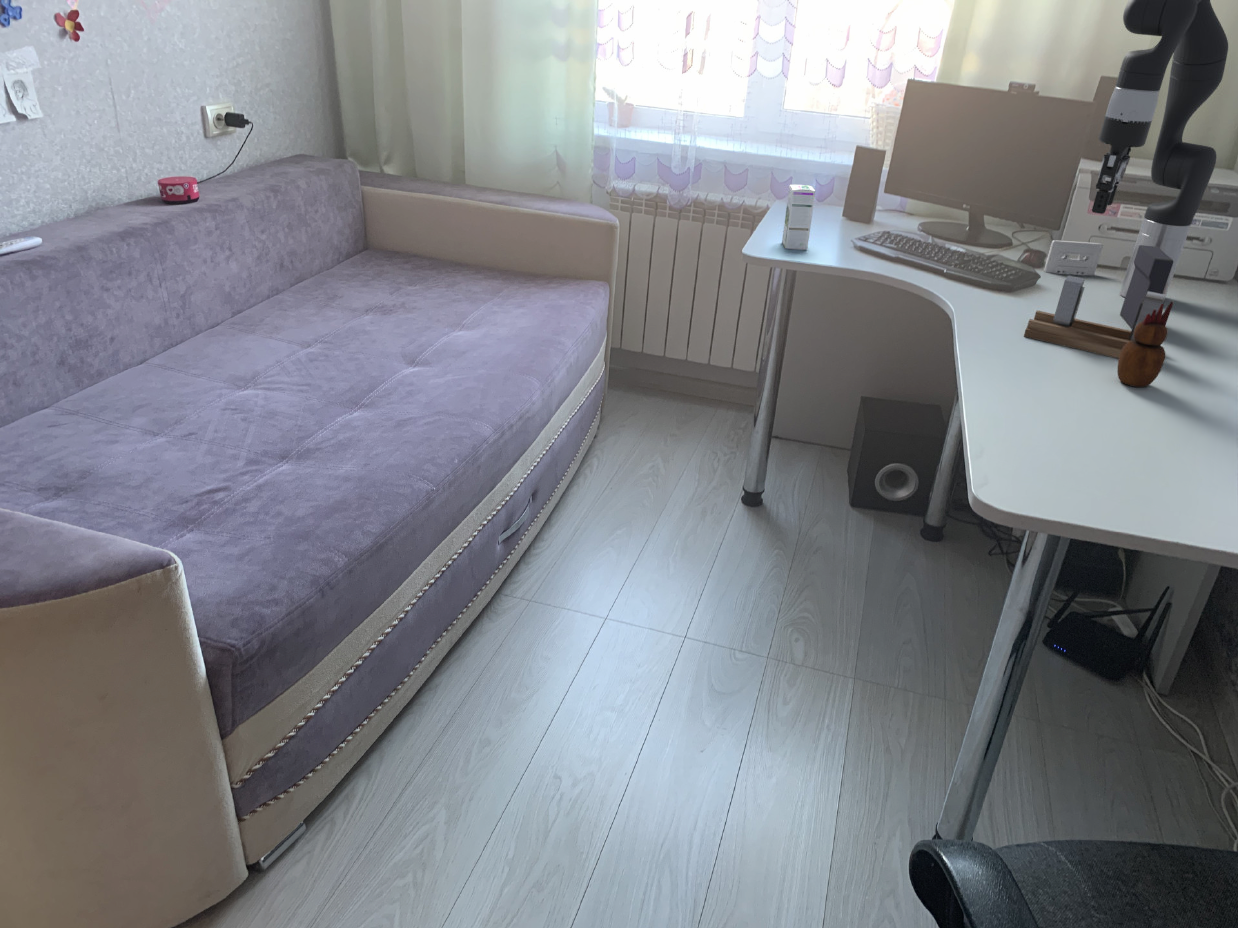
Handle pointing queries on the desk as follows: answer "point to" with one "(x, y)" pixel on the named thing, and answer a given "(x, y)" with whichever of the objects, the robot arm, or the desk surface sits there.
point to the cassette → (1073, 266)
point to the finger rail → (1090, 330)
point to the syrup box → (798, 217)
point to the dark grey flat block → (1146, 279)
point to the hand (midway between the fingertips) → (1101, 208)
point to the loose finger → (1069, 301)
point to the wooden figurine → (1144, 350)
